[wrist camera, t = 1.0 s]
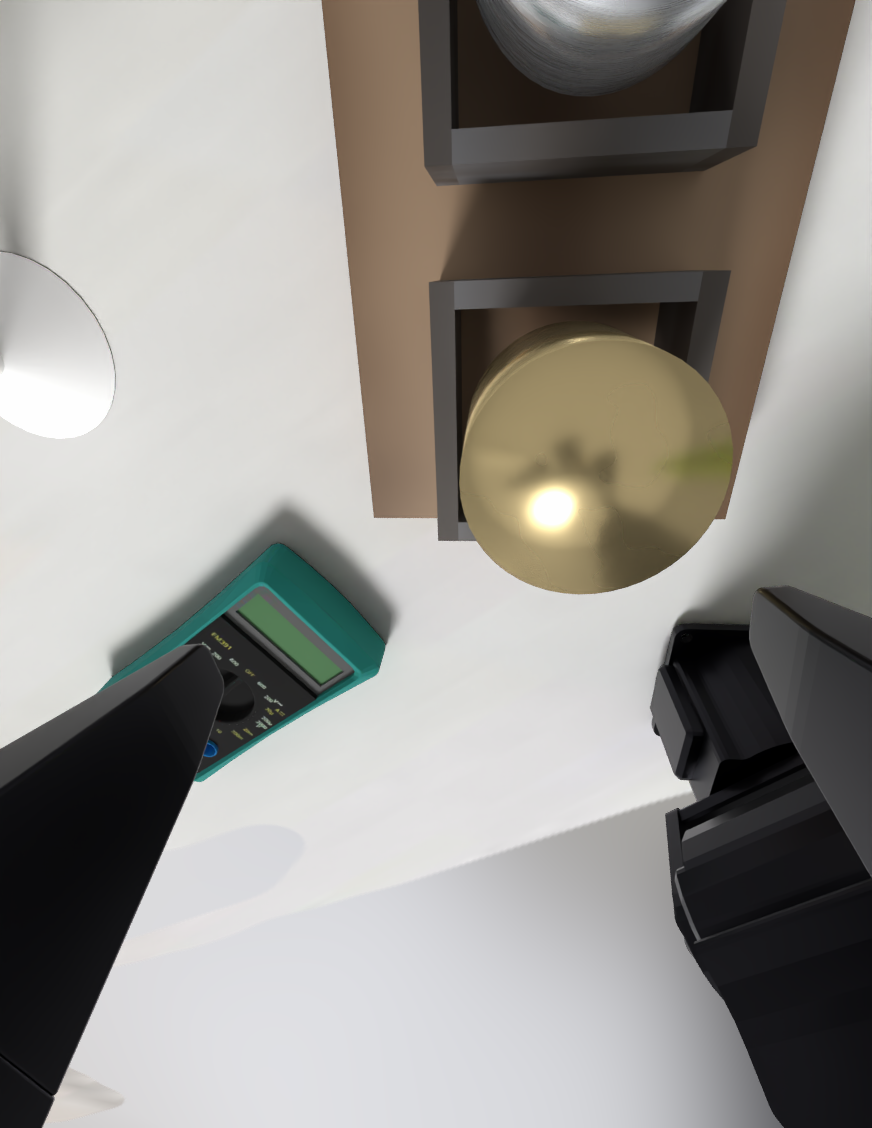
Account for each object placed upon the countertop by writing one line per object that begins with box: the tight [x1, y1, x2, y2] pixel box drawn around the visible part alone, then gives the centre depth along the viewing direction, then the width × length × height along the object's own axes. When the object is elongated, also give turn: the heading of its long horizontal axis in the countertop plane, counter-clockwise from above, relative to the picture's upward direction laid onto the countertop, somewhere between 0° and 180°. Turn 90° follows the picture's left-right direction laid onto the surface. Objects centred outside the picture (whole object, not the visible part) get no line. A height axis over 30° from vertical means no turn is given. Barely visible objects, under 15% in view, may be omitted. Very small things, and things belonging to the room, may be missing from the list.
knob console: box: [322, 0, 855, 541], centre depth 14 cm, size 12×17×6 cm
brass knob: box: [459, 321, 733, 594], centre depth 12 cm, size 5×5×4 cm
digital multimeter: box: [98, 543, 385, 782], centre depth 26 cm, size 7×15×3 cm, turn 130°
